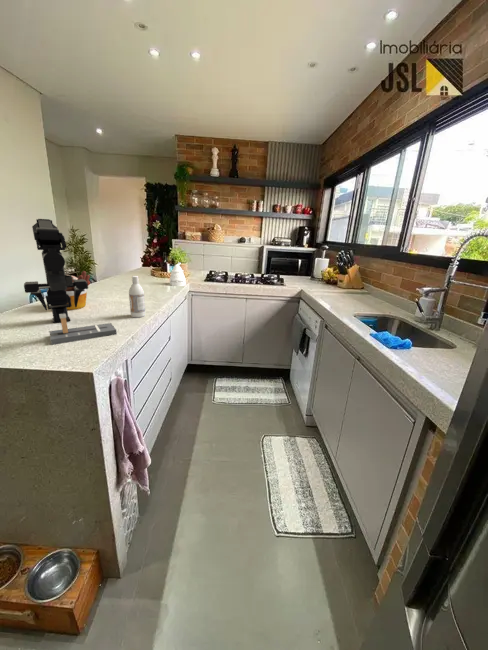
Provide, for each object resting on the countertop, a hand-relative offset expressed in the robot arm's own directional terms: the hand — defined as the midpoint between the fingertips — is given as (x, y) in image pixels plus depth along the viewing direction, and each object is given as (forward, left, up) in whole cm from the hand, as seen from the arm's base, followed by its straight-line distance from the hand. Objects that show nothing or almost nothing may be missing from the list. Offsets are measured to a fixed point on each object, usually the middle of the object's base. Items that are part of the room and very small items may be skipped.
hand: (61, 308), depth 99 cm
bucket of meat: (-47, +7, -12) cm, 49 cm away
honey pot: (-90, +85, -12) cm, 125 cm away
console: (0, +6, -12) cm, 13 cm away
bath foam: (-17, +32, -12) cm, 38 cm away
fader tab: (0, 0, -9) cm, 9 cm away
